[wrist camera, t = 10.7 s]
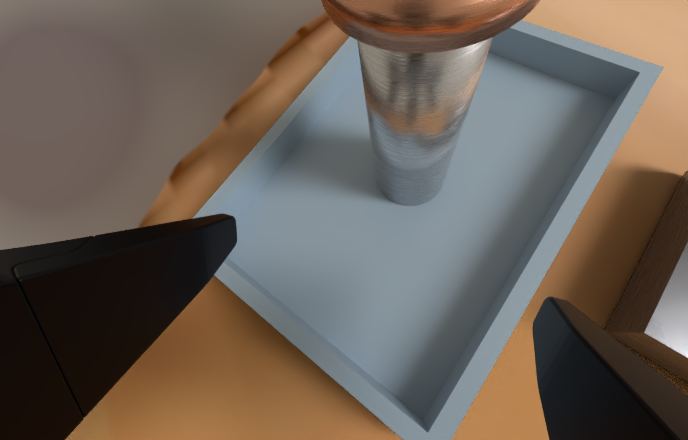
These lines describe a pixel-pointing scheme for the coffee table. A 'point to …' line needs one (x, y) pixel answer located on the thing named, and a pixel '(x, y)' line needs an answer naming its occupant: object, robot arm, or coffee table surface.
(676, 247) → the block
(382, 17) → the pin
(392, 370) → the tray
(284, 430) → the coffee table surface
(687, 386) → the coffee table surface
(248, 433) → the coffee table surface
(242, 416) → the coffee table surface
